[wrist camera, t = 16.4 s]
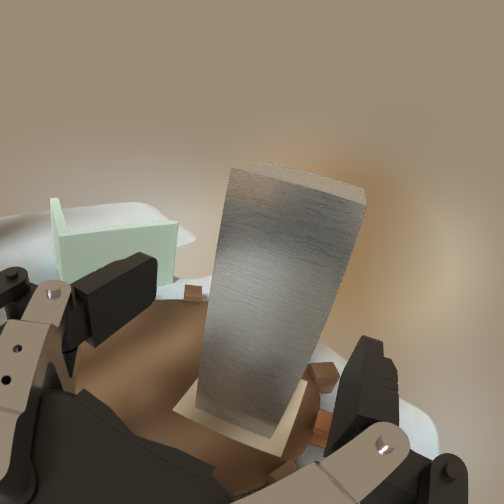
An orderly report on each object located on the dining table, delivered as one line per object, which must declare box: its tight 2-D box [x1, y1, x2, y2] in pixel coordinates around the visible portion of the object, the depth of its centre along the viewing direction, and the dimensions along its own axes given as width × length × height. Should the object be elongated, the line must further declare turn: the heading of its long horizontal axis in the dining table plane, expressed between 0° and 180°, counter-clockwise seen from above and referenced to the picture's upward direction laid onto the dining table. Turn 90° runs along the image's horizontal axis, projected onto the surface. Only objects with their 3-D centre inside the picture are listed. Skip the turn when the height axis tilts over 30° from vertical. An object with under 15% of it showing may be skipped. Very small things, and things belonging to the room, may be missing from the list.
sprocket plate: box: [75, 285, 340, 497], centre depth 19 cm, size 22×22×2 cm
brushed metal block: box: [195, 162, 367, 439], centre depth 15 cm, size 5×5×14 cm
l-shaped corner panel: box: [50, 198, 179, 287], centre depth 30 cm, size 12×12×8 cm
